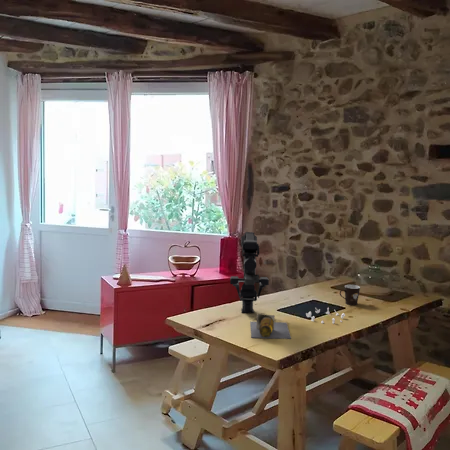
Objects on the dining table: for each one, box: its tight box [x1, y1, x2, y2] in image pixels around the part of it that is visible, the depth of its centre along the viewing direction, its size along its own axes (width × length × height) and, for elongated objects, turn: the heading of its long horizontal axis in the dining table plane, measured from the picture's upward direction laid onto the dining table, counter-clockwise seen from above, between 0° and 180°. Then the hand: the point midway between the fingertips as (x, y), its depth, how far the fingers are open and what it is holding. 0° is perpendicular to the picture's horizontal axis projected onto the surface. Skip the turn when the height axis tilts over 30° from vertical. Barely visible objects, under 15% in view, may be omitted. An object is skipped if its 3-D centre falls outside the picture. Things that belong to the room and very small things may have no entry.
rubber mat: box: [249, 321, 292, 340], centre depth 248 cm, size 22×18×1 cm
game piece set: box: [305, 307, 346, 324], centre depth 268 cm, size 19×20×4 cm
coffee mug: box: [339, 284, 361, 306], centre depth 295 cm, size 12×9×10 cm
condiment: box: [256, 313, 276, 337], centre depth 241 cm, size 7×8×12 cm
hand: (248, 297), depth 256 cm, fingers open, 9 cm apart
